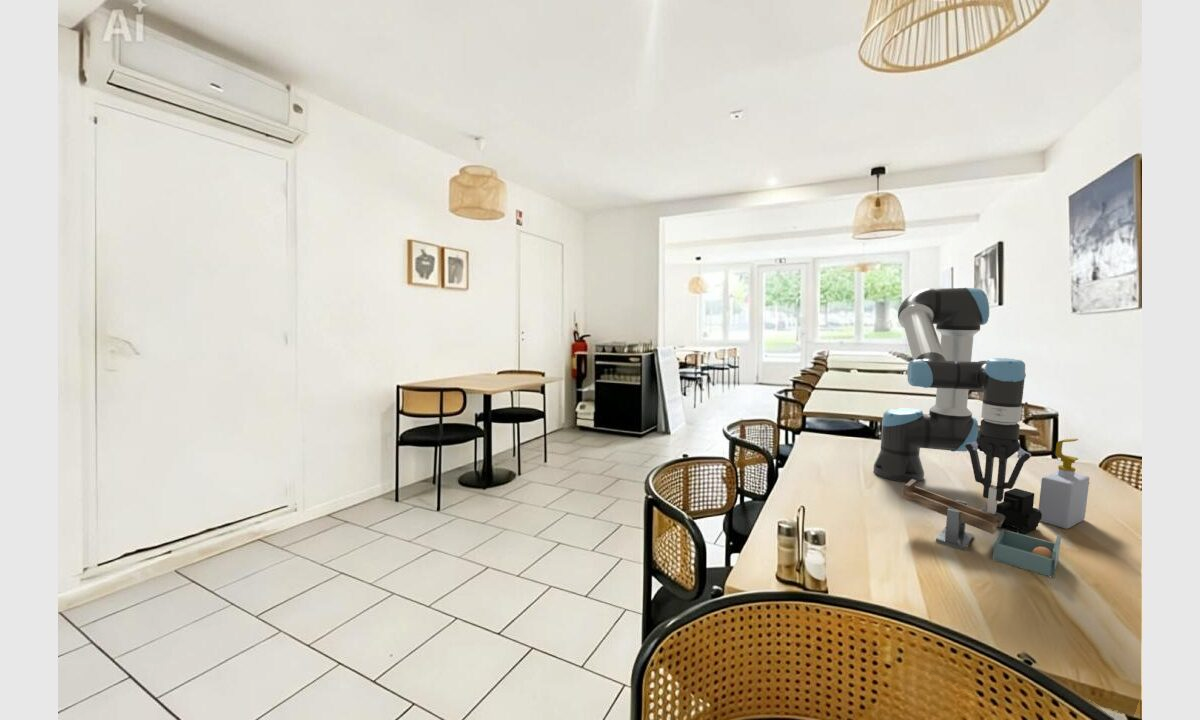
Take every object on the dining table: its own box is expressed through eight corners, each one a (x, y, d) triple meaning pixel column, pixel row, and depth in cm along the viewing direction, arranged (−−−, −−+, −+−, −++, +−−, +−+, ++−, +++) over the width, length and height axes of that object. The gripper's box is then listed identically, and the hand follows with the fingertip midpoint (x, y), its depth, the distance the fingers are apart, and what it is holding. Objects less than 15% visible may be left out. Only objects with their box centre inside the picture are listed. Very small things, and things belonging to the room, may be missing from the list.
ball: (1037, 546, 112) (1056, 557, 110) (1038, 541, 115) (1057, 551, 112) (1027, 558, 113) (1046, 569, 111) (1030, 552, 116) (1048, 563, 114)
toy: (980, 530, 130) (983, 494, 129) (1008, 519, 137) (1011, 485, 136) (1014, 542, 124) (1018, 504, 123) (1041, 530, 130) (1045, 494, 129)
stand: (935, 541, 124) (938, 508, 123) (945, 529, 131) (948, 497, 130) (964, 550, 120) (967, 515, 119) (973, 537, 126) (976, 503, 125)
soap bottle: (1067, 530, 130) (1077, 444, 127) (1036, 520, 136) (1044, 438, 133) (1085, 520, 136) (1095, 438, 133) (1054, 511, 142) (1063, 432, 139)
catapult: (900, 497, 131) (904, 484, 130) (914, 486, 139) (917, 473, 138) (995, 535, 117) (1000, 520, 116) (1004, 519, 125) (1008, 505, 124)
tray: (992, 559, 116) (994, 535, 115) (1000, 544, 123) (1002, 521, 122) (1053, 577, 108) (1056, 552, 107) (1058, 560, 115) (1061, 536, 114)
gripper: (964, 419, 123) (956, 508, 126) (1032, 428, 114) (1022, 524, 117) (971, 414, 129) (963, 499, 131) (1037, 423, 119) (1027, 515, 122)
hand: (991, 511), depth 124 cm, fingers closed
